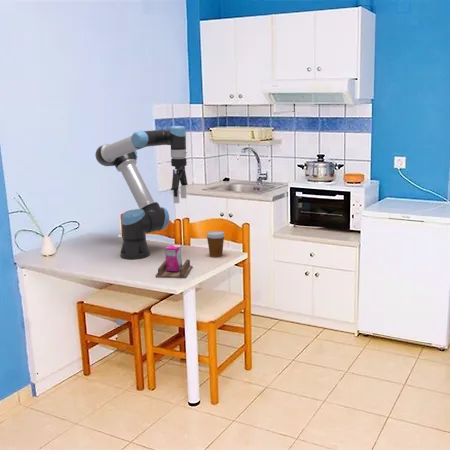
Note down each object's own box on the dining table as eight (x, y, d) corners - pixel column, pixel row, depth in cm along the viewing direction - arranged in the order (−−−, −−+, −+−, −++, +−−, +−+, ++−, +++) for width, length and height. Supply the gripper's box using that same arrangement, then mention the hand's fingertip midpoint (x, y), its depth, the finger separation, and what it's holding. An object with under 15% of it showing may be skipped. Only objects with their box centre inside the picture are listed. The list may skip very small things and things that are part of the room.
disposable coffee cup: (218, 259, 282) (218, 235, 280) (203, 256, 287) (202, 233, 285) (228, 254, 290) (228, 231, 288) (213, 252, 295) (212, 229, 293)
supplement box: (171, 268, 265) (170, 244, 263) (182, 269, 263) (181, 245, 261) (165, 271, 260) (164, 247, 257) (177, 272, 258) (176, 248, 255)
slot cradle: (155, 277, 255) (155, 269, 254) (163, 267, 270) (163, 259, 270) (185, 278, 253) (185, 269, 252) (192, 267, 268) (192, 259, 268)
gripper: (179, 160, 264) (180, 205, 268) (192, 155, 287) (193, 196, 292) (163, 160, 265) (165, 205, 270) (178, 155, 289) (179, 196, 294)
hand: (180, 200), depth 281 cm, fingers open, 13 cm apart
